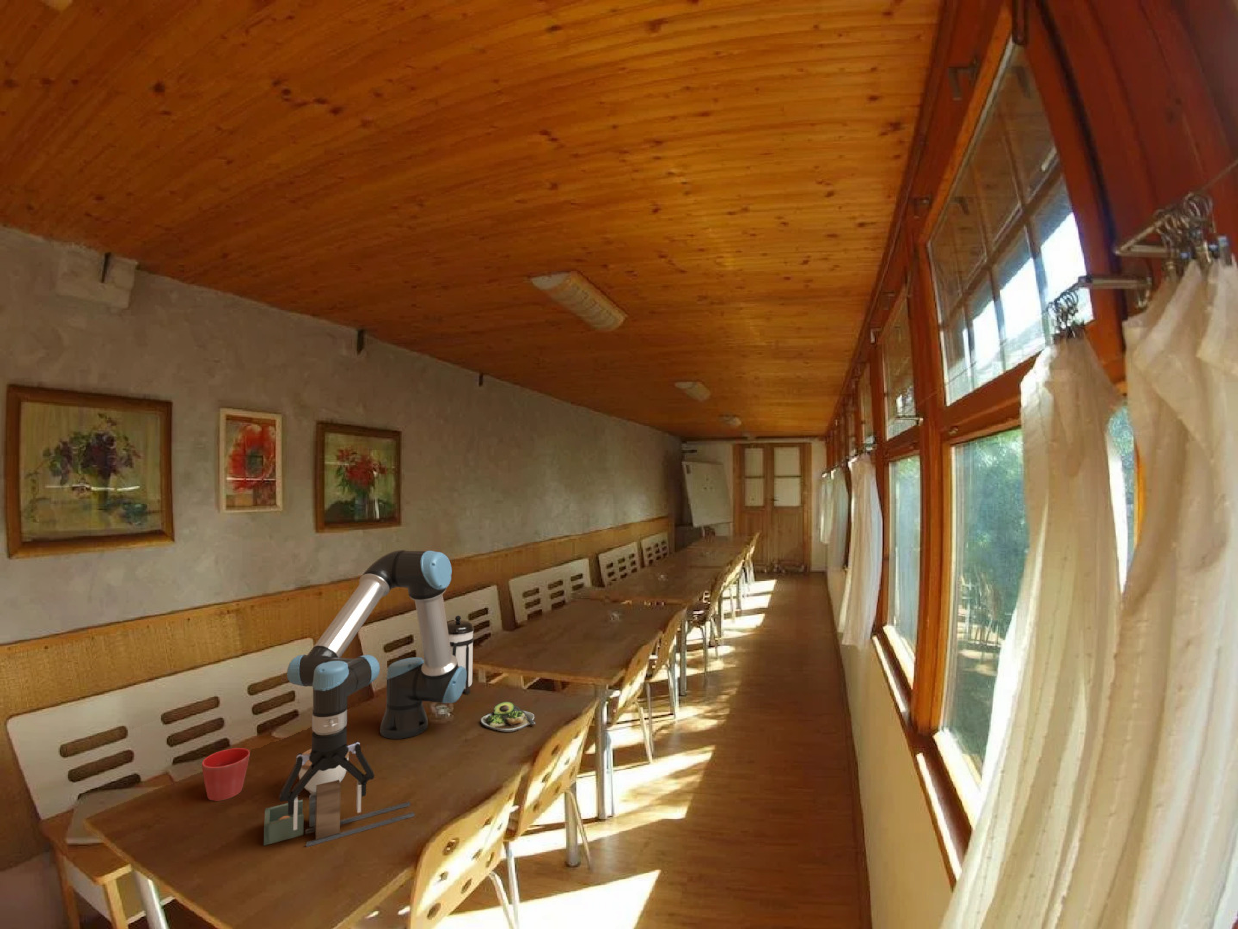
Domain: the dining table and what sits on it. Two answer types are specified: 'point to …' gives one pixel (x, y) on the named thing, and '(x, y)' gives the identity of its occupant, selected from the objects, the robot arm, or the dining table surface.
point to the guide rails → (362, 826)
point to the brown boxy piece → (325, 809)
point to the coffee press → (462, 646)
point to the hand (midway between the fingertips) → (327, 818)
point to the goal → (282, 823)
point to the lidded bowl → (322, 774)
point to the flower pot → (225, 773)
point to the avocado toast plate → (507, 718)
